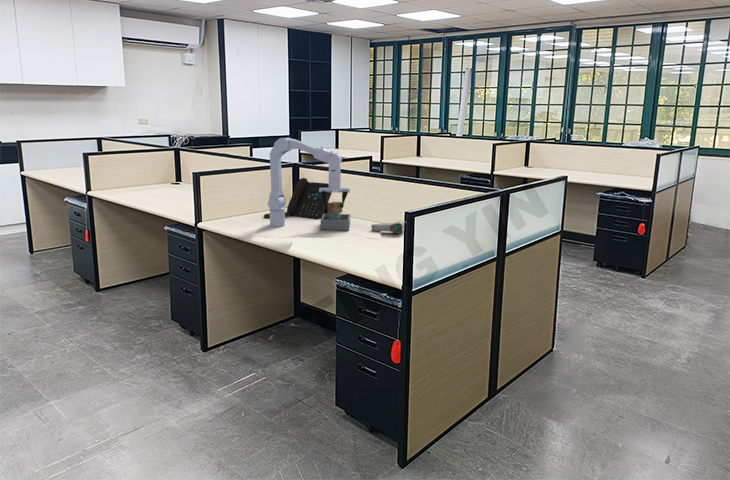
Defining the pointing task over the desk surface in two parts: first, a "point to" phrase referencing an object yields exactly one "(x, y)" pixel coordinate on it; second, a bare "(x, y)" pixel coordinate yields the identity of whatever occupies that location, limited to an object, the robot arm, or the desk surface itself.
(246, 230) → the desk surface
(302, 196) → the office phone
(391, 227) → the infrared thermometer
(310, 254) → the desk surface
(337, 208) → the walnut cube
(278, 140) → the robot arm
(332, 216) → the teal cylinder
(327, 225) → the charcoal tote
